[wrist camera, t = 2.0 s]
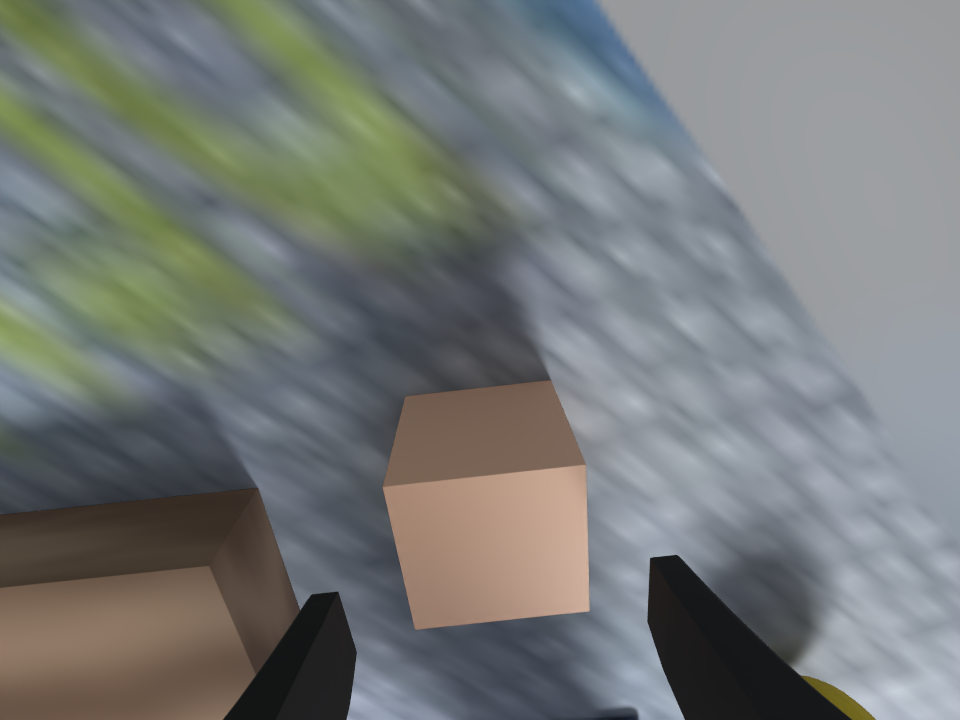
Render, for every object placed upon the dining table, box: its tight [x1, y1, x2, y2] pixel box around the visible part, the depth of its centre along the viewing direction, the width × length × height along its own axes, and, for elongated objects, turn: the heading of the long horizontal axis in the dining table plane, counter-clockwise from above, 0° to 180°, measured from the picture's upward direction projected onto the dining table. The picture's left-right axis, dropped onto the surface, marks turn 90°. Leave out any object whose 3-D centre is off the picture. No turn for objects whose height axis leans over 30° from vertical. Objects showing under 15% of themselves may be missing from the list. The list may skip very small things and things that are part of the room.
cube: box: [383, 380, 590, 630], centre depth 15 cm, size 5×5×5 cm
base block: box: [0, 488, 300, 720], centre depth 18 cm, size 11×11×4 cm
